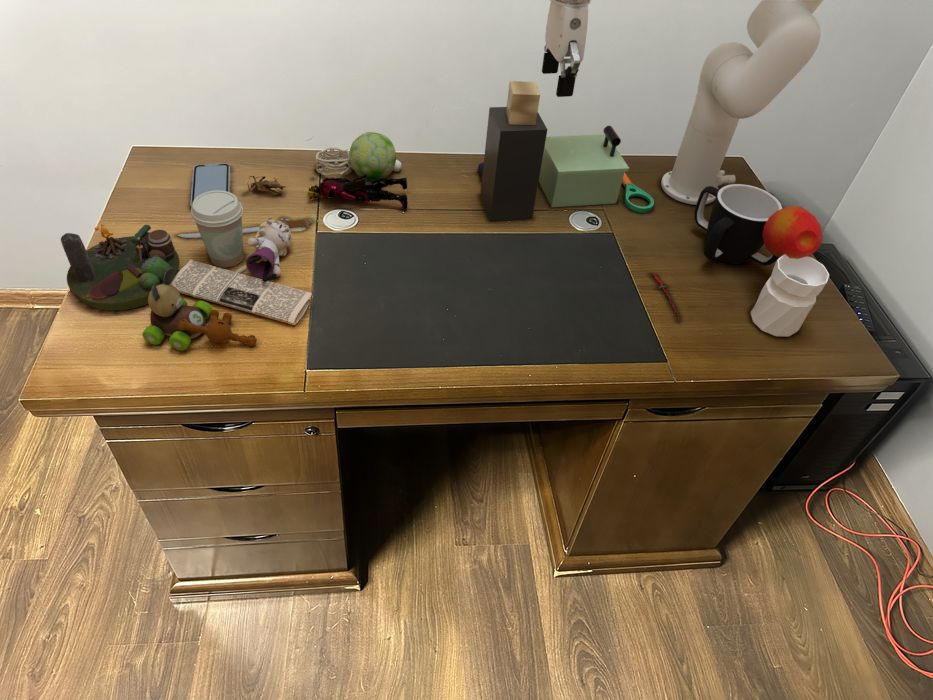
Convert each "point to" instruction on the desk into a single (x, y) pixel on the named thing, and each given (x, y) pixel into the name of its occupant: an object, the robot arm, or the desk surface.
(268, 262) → the toy
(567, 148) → the lid
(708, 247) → the mug
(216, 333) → the toy figurine
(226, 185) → the smartphone
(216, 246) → the coffee cup
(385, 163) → the decorative ball
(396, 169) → the spheres
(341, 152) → the bracelet
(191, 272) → the newspaper
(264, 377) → the desk surface
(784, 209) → the apple
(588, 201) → the storage box
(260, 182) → the insect
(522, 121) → the block
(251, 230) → the sword
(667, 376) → the desk surface
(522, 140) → the block
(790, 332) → the vase
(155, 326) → the toy car
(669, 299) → the katana
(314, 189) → the action figure
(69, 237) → the toy scene
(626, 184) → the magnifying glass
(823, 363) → the desk surface
